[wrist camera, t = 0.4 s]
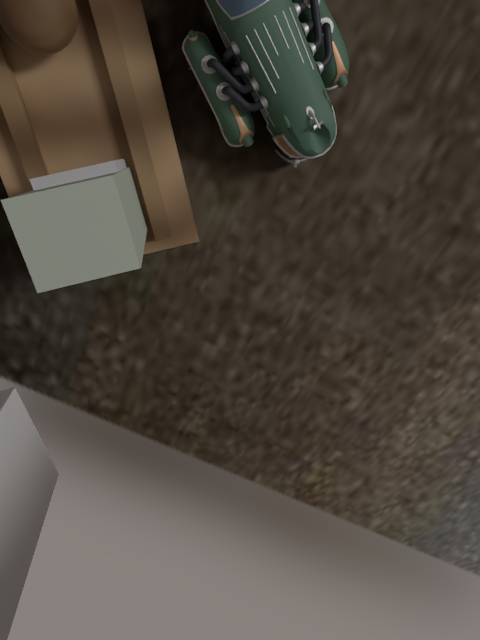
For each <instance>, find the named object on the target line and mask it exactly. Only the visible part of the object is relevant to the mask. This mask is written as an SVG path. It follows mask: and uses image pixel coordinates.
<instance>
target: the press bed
mask: <svg viewBox="0 0 480 640" xmlns="http://www.w3.org/2000/svg"><path fill="white" fill-rule="evenodd" d="M75 3H76V7H77V13H78V23H77V29H76V33H75V35H74V37H73V39H72V41H71V42H70V43H69V45H68V46H67V47H65V48H64V49H63V50H61V51H59V52H57V53H53V54H37V53H34V52H31V51H28V50H26V49H24V48H23V47H21V46H19V45H18V44H17V43H16V42H14V41H13V40H12V39H11V38H10V37H9V35H8V34H7V33H6V32H5V30H4V29H3V27H2V26H1V24H0V176H1V179H2V181H3V184H4V186H5V189H6V192H7V194H8V197H9V198H10V197H13V196H16V195H20V194H23V193H26V192H30V191H33V188H32V185H31V182H30V179H33V178H37V177H42V176H46V175H51V174H55V173H60V172H64V171H69V170H73V169H78V168H82V167H87V166H91V165H96V164H100V163H105V162H109V161H114V160H119V159H124V160H125V163H126V167H127V168H128V167H130V170H131V173H132V177H133V180H134V184H135V187H136V191H137V194H138V198H139V201H140V205H141V208H142V212H143V215H144V219H145V223H146V226H147V234H146V240H145V246H144V253H143V255H144V254H149V253H153V252H157V251H161V250H165V249H169V248H174V247H178V246H182V245H186V244H190V243H195V242H199V237H198V233H197V229H196V225H195V221H194V217H193V213H192V208H191V204H190V200H189V196H188V192H187V188H186V184H185V180H184V175H183V171H182V167H181V163H180V159H179V155H178V151H177V146H176V142H175V138H174V134H173V130H172V126H171V122H170V117H169V113H168V109H167V105H166V101H165V97H164V93H163V88H162V84H161V80H160V76H159V72H158V68H157V64H156V60H155V55H154V51H153V47H152V43H151V39H150V35H149V31H148V26H147V22H146V18H145V14H144V10H143V6H142V2H141V0H75Z"/></svg>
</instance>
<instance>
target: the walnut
mask: <svg viewBox="0 0 480 640" xmlns="http://www.w3.org/2000/svg"><path fill="white" fill-rule="evenodd" d="M77 23H78V13H77V7H76V3H75V0H0V24H1V26H2V27H3V29H4V30H5V32H6V33H7V34H8V35H9V37H10V38H11V39H12V40H13V41H14V42H16V43H17V44H18V45H19V46H21V47H23V48H24V49H26V50H28V51H31V52H34V53H37V54H53V53H57V52H59V51H61V50H63V49H64V48H65V47H67V46H68V45H69V43H70V42H71V41H72V39H73V37H74V35H75V33H76V29H77Z"/></svg>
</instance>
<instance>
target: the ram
mask: <svg viewBox="0 0 480 640" xmlns="http://www.w3.org/2000/svg"><path fill="white" fill-rule="evenodd" d="M30 182H31V185H32V188H33V191H30V192H26V193H23V194H20V195H16V196H13V197H10V198H6V199H3V200H1V202H2V205H3V207H4V210H5V212H6V215H7V217H8V220H9V222H10V225H11V227H12V230H13V233H14V235H15V238H16V240H17V243H18V245H19V248H20V250H21V253H22V255H23V258H24V260H25V263H26V265H27V268H28V270H29V273H30V275H31V278H32V280H33V283H34V285H35V288H36V290H37V293H40V292H44V291H48V290H53V289H57V288H61V287H65V286H69V285H73V284H77V283H81V282H86V281H90V280H94V279H98V278H102V277H106V276H110V275H115V274H119V273H123V272H127V271H131V270H135V269H139V268H141V265H142V259H143V253H144V246H145V240H146V234H147V226H146V223H145V219H144V215H143V212H142V208H141V205H140V201H139V198H138V194H137V191H136V187H135V184H134V180H133V177H132V173H131V170H130V167H128V168H127V167H126V163H125V160H124V159H119V160H114V161H109V162H105V163H100V164H96V165H91V166H87V167H82V168H78V169H73V170H69V171H64V172H60V173H55V174H51V175H46V176H42V177H37V178H33V179H30Z"/></svg>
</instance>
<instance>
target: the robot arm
mask: <svg viewBox="0 0 480 640" xmlns="http://www.w3.org/2000/svg"><path fill="white" fill-rule="evenodd" d="M57 478H58V472H57V470H56V468H55V466H54V464H53V462H52V460H51V458H50V456H49V454H48V452H47V450H46V448H45V446H44V444H43V442H42V440H41V438H40V436H39V434H38V432H37V430H36V428H35V426H34V424H33V422H32V420H31V418H30V416H29V414H28V412H27V410H26V408H25V406H24V404H23V403H22V401H21V399H20V397H19V395H18V393H17V391H16V389H15V387H14V388H10V389H7V390H3V391H0V640H7V638H8V635H9V632H10V628H11V625H12V622H13V619H14V616H15V612H16V609H17V606H18V603H19V600H20V596H21V593H22V590H23V587H24V584H25V580H26V577H27V574H28V571H29V567H30V564H31V561H32V558H33V554H34V551H35V548H36V545H37V542H38V539H39V535H40V532H41V529H42V526H43V523H44V519H45V516H46V513H47V510H48V506H49V503H50V500H51V496H52V494H53V490H54V487H55V484H56V481H57Z"/></svg>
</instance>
